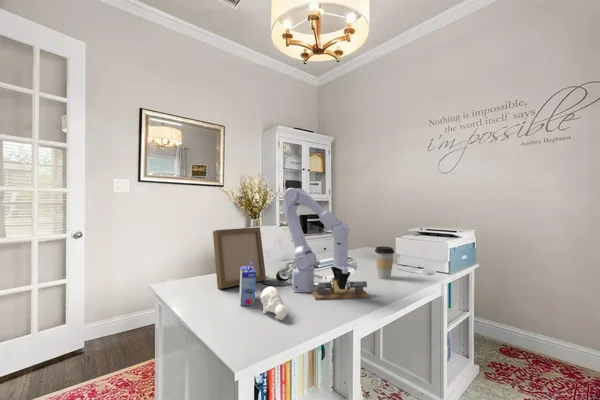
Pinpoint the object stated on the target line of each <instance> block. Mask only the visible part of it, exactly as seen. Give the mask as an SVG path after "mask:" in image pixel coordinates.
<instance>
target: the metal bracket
mask: <svg viewBox="0 0 600 400" xmlns="http://www.w3.org/2000/svg"><path fill="white" fill-rule="evenodd" d="M293 269H297V267H296V265H295V266H294V267H290V266H289V265H285V267H284V268H281V269H280V270H279V271H288V272H289V273H290V274H288V276H289V279H288V280H287V281H286V282H288V283H291V284H292V271H293ZM279 271H277V272H275V273H276V274H270V275H269V276H268V277H269V278H268V279H271V278H273V279H272V280H275V279H276V275H277V273H278V272H279ZM288 283H287V284H288Z"/></svg>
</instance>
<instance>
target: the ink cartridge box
mask: <svg viewBox="0 0 600 400" xmlns="http://www.w3.org/2000/svg"><path fill="white" fill-rule="evenodd" d="M252 264H253V263H252V262H251V263H250V265H251V266H250V265H249V266H243V267H241V271H240V285H239V296H238V297H239V303H240V306H244V307H245V306H255V305H256V283H257V281H256V271H255V269H254V266H252Z"/></svg>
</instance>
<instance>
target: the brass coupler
mask: <svg viewBox="0 0 600 400" xmlns="http://www.w3.org/2000/svg"><path fill="white" fill-rule="evenodd" d="M331 281H333V282H334V290H332V292H333V294H346V289H347V288H346V287H345V289H339V283H338V278H334V277H331Z"/></svg>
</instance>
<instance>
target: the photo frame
mask: <svg viewBox="0 0 600 400" xmlns="http://www.w3.org/2000/svg"><path fill="white" fill-rule="evenodd" d="M261 232H262V231H261V227H260V226H258V227H257V226H256V227H242V228H228V229H227V228H226V229H216V230H213V231H212V236H213V249H214V260H215V261H214V262H215V271H216V272H215V273H216V283H217V289H227V288H230V287H235V286H236V287H237V286H240V271H241V267H243V266H249V265H250V263H251V262H252V263H253V264H252V266H254V269H255V271H256V282H259V281H265V280H267V277H266V266H265V260H264V257H265V256H264V249H263V241H262V233H261ZM250 266H251V265H250Z"/></svg>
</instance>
